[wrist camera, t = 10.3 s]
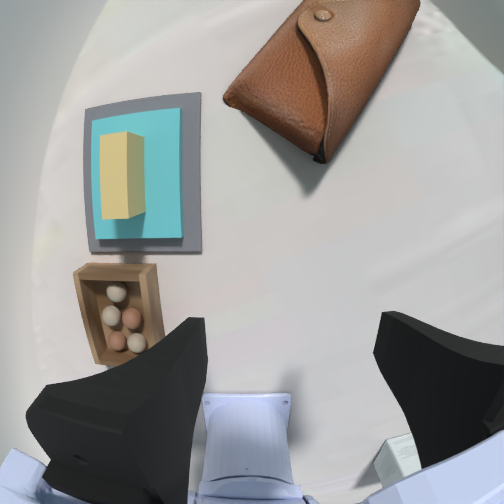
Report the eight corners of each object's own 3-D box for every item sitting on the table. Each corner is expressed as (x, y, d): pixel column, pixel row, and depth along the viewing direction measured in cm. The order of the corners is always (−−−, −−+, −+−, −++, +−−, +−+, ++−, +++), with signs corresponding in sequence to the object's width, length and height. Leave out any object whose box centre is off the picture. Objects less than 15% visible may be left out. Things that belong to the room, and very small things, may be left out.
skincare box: (372, 463, 28) (386, 502, 21) (386, 438, 27) (405, 481, 20) (408, 453, 28) (425, 488, 21) (424, 427, 27) (446, 465, 20)
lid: (183, 235, 19) (170, 248, 16) (100, 236, 19) (74, 249, 16) (182, 110, 17) (168, 96, 13) (97, 122, 17) (69, 114, 13)
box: (168, 354, 22) (161, 372, 20) (105, 348, 22) (95, 363, 20) (155, 263, 20) (145, 274, 18) (87, 262, 20) (72, 272, 18)
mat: (202, 250, 20) (201, 251, 20) (91, 250, 20) (89, 251, 19) (201, 93, 17) (200, 92, 17) (87, 109, 17) (85, 109, 17)
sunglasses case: (329, -38, 14) (387, -54, 8) (374, 13, 18) (432, 11, 13) (214, 105, 17) (263, 109, 12) (285, 152, 22) (344, 175, 17)
